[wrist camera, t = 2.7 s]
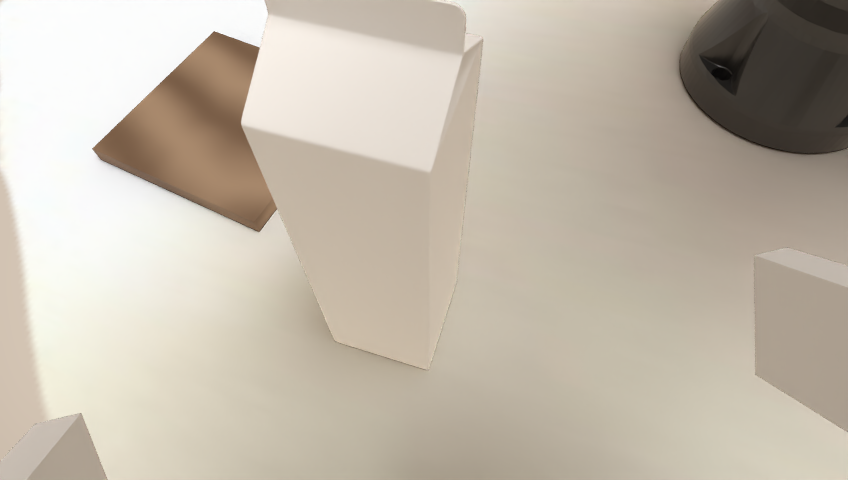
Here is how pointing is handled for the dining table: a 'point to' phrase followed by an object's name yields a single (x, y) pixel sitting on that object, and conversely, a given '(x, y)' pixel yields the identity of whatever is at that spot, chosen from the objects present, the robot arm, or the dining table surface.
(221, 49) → the walnut board
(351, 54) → the milk
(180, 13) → the dining table surface
